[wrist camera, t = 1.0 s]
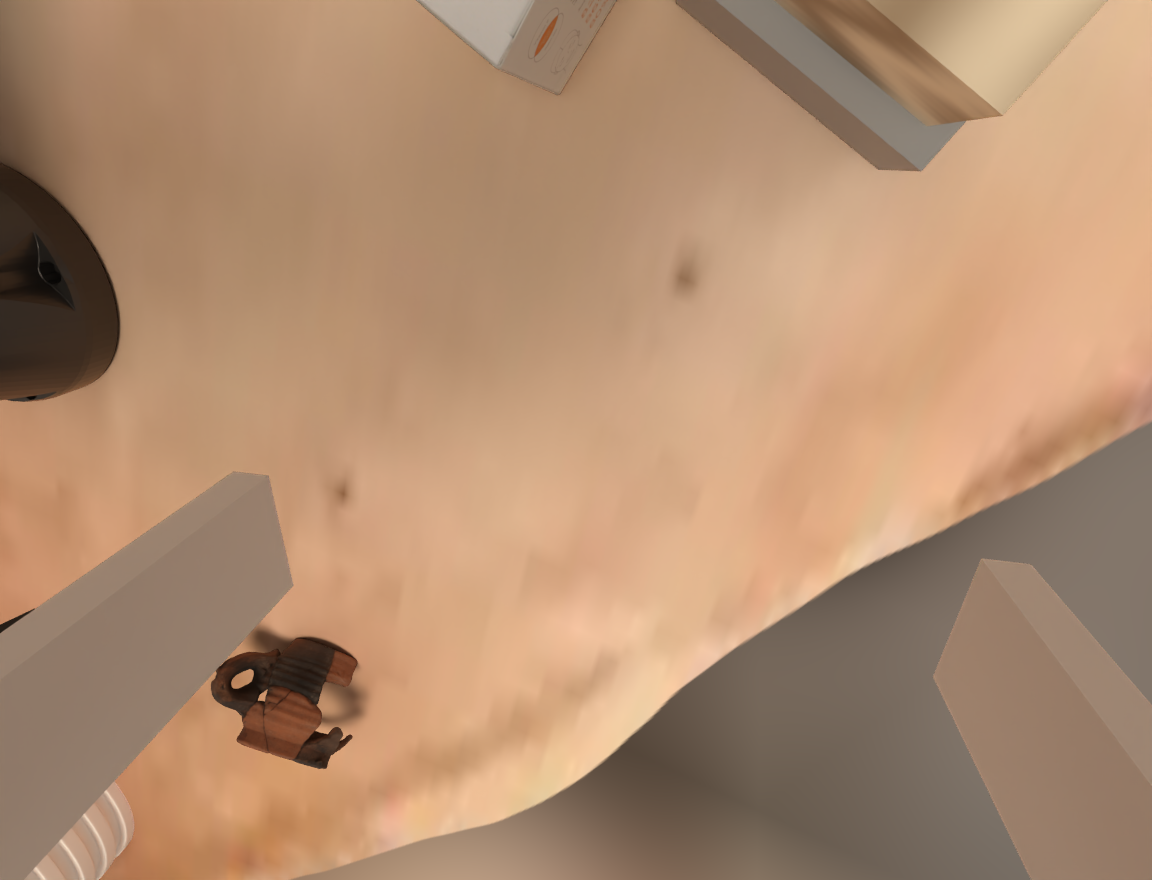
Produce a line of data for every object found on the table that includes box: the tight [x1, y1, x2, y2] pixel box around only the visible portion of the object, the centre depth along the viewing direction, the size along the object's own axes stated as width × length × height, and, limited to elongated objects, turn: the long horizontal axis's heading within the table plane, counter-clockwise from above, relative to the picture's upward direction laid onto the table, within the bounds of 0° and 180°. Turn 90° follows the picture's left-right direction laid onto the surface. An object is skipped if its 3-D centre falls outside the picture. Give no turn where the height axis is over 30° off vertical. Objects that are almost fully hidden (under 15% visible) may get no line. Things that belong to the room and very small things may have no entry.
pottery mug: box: [211, 638, 357, 769], centre depth 48 cm, size 12×10×8 cm
